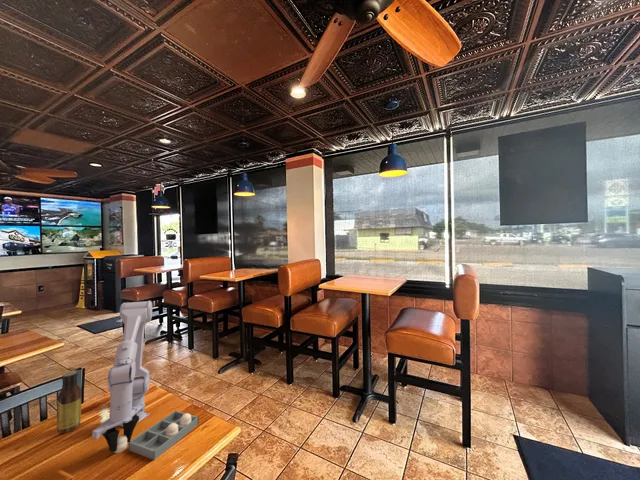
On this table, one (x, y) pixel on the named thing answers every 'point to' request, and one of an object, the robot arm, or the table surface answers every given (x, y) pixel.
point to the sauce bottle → (69, 403)
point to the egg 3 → (185, 419)
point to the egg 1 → (121, 443)
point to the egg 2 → (172, 430)
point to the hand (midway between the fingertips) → (120, 445)
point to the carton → (161, 436)
